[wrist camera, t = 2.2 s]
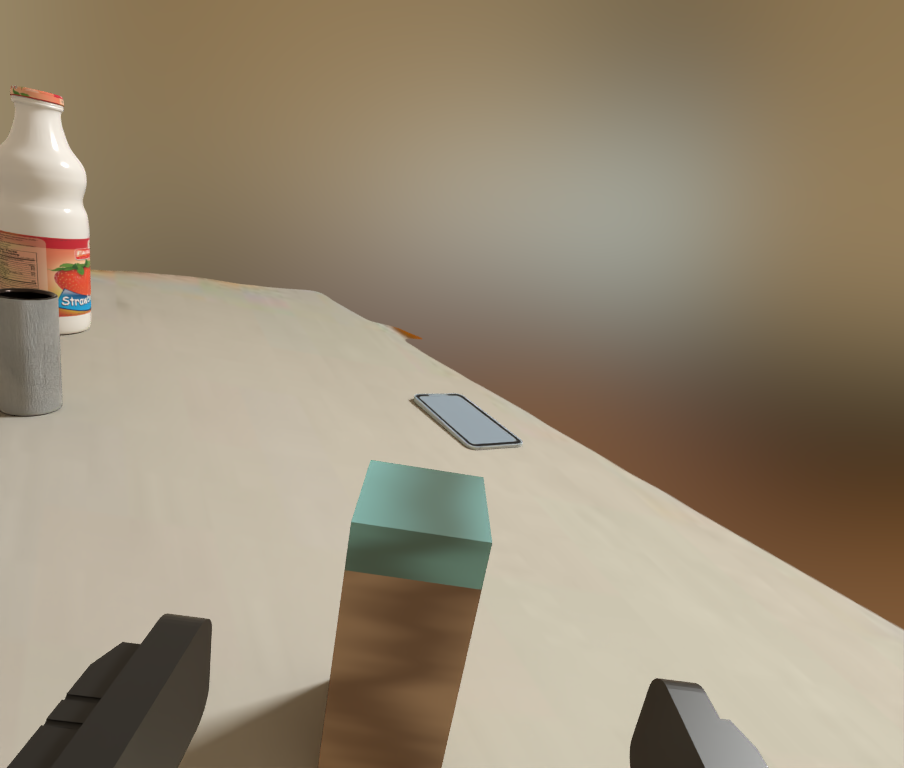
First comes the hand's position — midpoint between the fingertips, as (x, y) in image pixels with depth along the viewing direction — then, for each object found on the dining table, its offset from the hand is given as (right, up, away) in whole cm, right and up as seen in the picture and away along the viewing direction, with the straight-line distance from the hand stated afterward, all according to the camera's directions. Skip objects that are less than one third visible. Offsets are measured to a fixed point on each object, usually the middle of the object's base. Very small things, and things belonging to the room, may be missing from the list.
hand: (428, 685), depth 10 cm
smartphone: (+2, +1, +55) cm, 55 cm away
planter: (-37, +3, +39) cm, 54 cm away
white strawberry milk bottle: (-52, +13, +61) cm, 81 cm away
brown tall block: (-3, -10, +15) cm, 18 cm away
